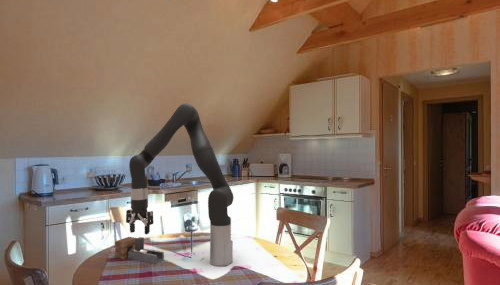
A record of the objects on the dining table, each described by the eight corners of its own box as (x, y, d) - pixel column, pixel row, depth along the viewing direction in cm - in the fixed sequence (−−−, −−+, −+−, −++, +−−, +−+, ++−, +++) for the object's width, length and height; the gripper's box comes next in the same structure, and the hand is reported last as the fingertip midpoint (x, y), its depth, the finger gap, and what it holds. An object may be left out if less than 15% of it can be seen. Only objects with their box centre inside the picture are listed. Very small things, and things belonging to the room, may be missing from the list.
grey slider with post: (148, 255, 150) (148, 238, 150) (143, 257, 147) (144, 240, 148) (127, 251, 156) (127, 235, 156) (122, 253, 153) (122, 236, 153)
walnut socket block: (136, 253, 157) (136, 237, 157) (123, 259, 149) (123, 242, 149) (128, 252, 159) (128, 236, 159) (115, 257, 151) (115, 241, 151)
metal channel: (163, 259, 148) (163, 252, 148) (155, 263, 143) (155, 255, 143) (136, 254, 155) (136, 247, 155) (127, 258, 150) (128, 250, 150)
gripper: (157, 197, 151) (157, 232, 151) (133, 196, 157) (133, 229, 157) (145, 200, 144) (145, 236, 144) (121, 198, 150) (121, 233, 150)
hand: (139, 233), depth 150 cm, fingers open, 8 cm apart
